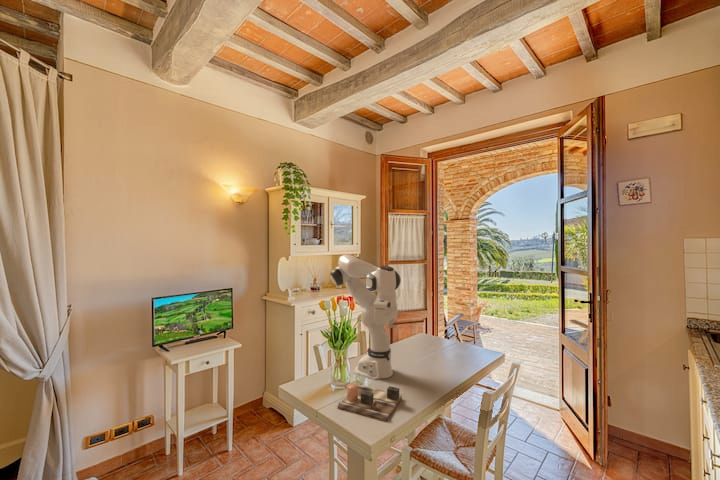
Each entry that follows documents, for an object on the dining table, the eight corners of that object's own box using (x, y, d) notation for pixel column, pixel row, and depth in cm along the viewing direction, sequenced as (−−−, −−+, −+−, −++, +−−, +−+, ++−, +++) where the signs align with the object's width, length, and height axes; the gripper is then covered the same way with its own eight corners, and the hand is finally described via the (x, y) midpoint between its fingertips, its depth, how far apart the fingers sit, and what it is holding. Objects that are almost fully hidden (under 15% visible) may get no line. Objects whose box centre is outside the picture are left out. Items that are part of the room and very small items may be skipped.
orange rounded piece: (345, 400, 143) (345, 387, 143) (350, 395, 148) (350, 383, 148) (354, 403, 141) (354, 390, 141) (359, 398, 146) (359, 385, 146)
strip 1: (341, 403, 143) (341, 391, 143) (348, 396, 149) (348, 384, 149) (368, 410, 137) (368, 398, 137) (375, 402, 143) (375, 390, 143)
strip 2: (367, 398, 147) (367, 386, 147) (373, 391, 153) (373, 380, 153) (395, 405, 141) (395, 393, 141) (400, 397, 147) (400, 386, 147)
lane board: (337, 408, 141) (337, 403, 141) (357, 388, 159) (357, 384, 159) (386, 421, 131) (386, 416, 131) (401, 398, 149) (401, 394, 149)
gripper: (388, 296, 155) (388, 323, 156) (371, 304, 137) (372, 335, 137) (400, 297, 153) (400, 325, 153) (385, 306, 134) (385, 337, 134)
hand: (386, 330), depth 145 cm, fingers open, 8 cm apart
